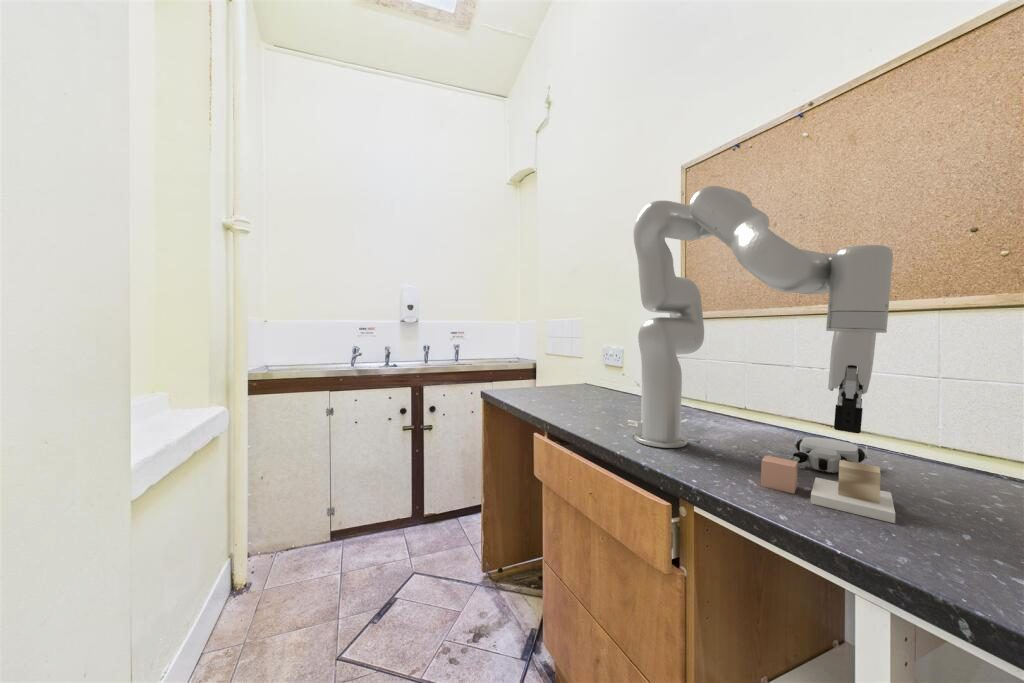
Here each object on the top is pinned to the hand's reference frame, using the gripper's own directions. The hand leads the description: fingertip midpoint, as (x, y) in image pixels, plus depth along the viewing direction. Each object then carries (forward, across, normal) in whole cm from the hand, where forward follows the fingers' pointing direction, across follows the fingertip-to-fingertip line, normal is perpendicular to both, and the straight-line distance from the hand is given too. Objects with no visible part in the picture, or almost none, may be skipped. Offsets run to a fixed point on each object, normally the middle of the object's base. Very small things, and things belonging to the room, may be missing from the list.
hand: (847, 425), depth 65 cm
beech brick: (+11, 0, +2) cm, 11 cm away
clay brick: (+13, 0, -9) cm, 16 cm away
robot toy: (+14, -20, -3) cm, 24 cm away
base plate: (+13, 0, +1) cm, 13 cm away
